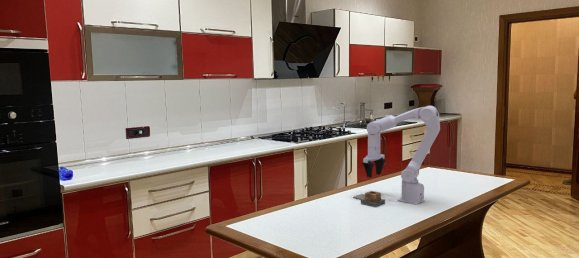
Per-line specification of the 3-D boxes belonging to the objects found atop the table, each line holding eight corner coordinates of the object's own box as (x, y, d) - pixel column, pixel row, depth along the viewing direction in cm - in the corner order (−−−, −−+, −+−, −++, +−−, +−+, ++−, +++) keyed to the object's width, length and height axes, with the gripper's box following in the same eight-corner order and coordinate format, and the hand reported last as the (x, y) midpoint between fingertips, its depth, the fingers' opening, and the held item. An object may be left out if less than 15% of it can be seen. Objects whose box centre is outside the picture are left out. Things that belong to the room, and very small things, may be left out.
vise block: (385, 203, 190) (385, 194, 189) (376, 207, 185) (376, 197, 184) (369, 200, 195) (369, 190, 195) (360, 203, 191) (360, 193, 190)
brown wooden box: (380, 199, 190) (381, 192, 190) (374, 201, 186) (374, 194, 186) (371, 197, 193) (371, 190, 193) (364, 199, 190) (365, 192, 190)
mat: (374, 197, 200) (374, 196, 200) (365, 200, 195) (365, 199, 195) (361, 195, 205) (361, 193, 204) (352, 198, 200) (352, 196, 200)
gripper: (375, 144, 208) (375, 172, 209) (357, 148, 198) (357, 177, 199) (388, 145, 203) (388, 174, 204) (370, 149, 193) (370, 179, 194)
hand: (373, 175), depth 202 cm, fingers open, 7 cm apart
